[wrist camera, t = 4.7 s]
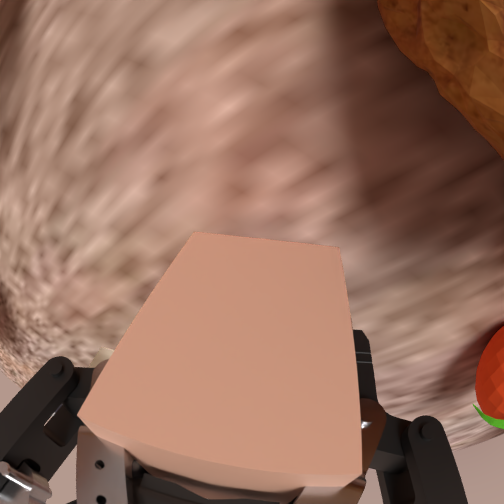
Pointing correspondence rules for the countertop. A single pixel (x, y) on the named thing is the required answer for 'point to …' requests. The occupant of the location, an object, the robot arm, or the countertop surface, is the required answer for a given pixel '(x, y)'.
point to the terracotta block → (238, 373)
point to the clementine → (491, 381)
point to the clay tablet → (457, 54)
